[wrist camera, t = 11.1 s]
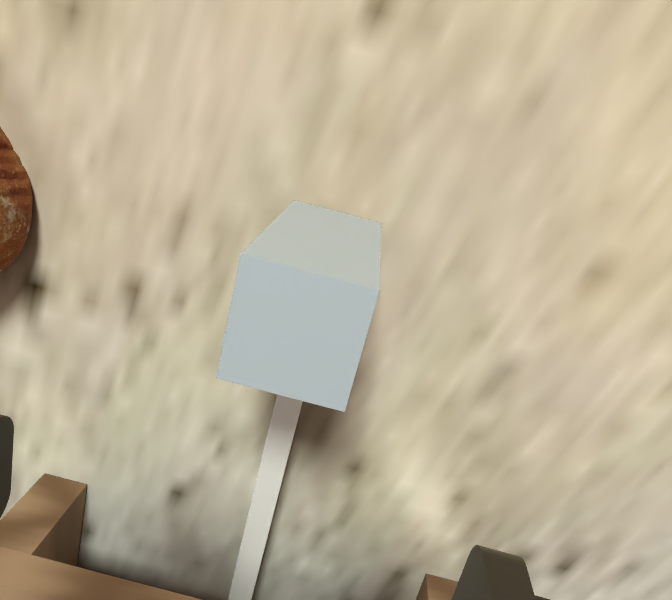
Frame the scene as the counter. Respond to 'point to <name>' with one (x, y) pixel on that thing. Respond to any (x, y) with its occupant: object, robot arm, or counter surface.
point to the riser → (63, 550)
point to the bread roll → (13, 203)
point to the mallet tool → (297, 338)
